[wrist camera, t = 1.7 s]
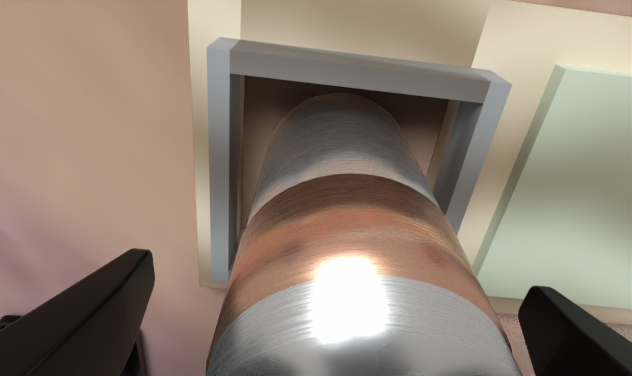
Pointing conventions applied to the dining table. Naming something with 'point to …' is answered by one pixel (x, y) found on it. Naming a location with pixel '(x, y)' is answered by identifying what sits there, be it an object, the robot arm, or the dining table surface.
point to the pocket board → (449, 127)
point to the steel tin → (351, 261)
